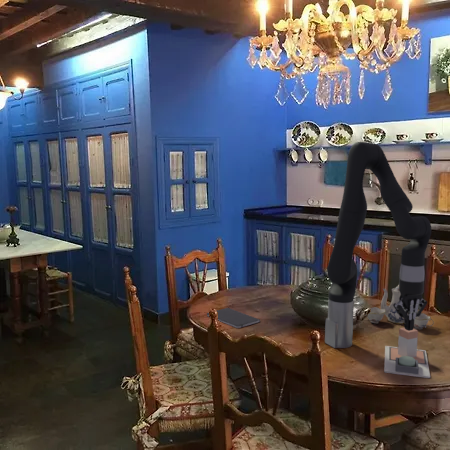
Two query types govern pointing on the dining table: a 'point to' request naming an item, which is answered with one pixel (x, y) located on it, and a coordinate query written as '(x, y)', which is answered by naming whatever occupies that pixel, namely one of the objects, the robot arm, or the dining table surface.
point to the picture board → (394, 367)
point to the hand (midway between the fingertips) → (409, 329)
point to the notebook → (235, 318)
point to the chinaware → (395, 312)
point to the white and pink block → (407, 342)
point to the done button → (407, 361)
